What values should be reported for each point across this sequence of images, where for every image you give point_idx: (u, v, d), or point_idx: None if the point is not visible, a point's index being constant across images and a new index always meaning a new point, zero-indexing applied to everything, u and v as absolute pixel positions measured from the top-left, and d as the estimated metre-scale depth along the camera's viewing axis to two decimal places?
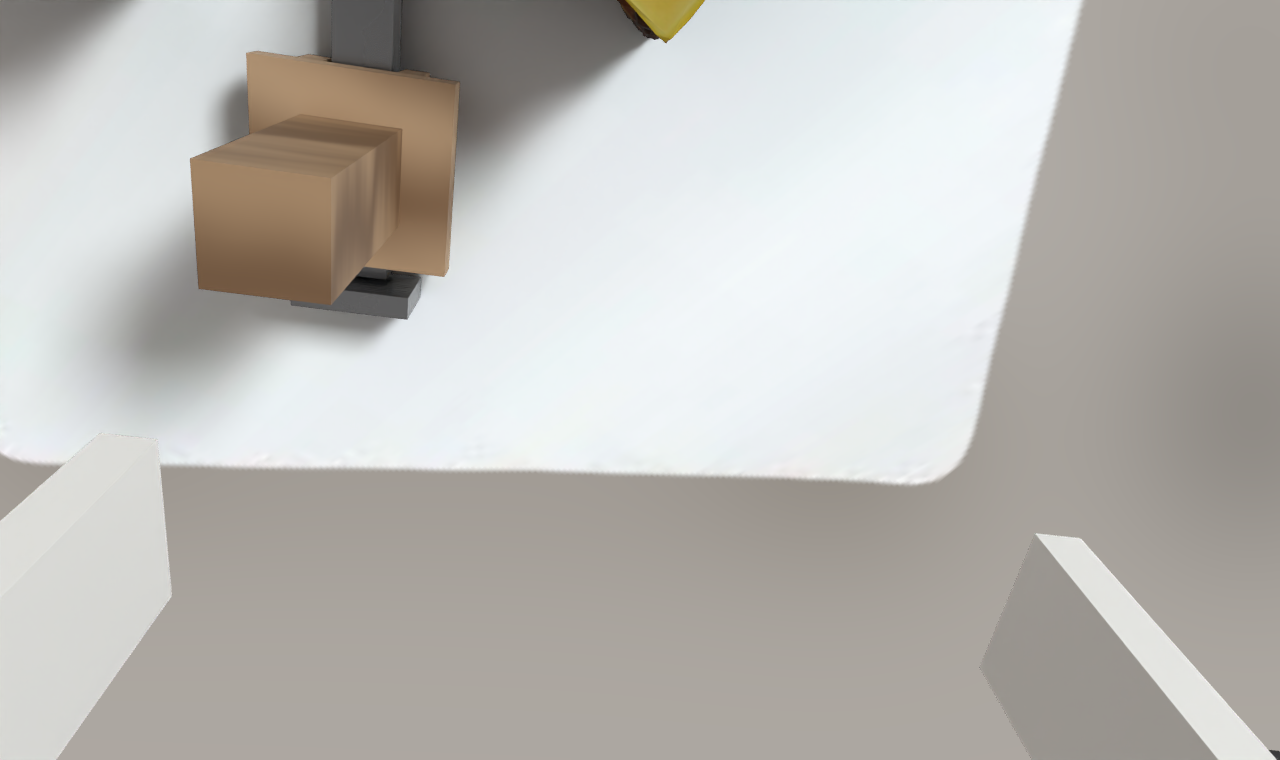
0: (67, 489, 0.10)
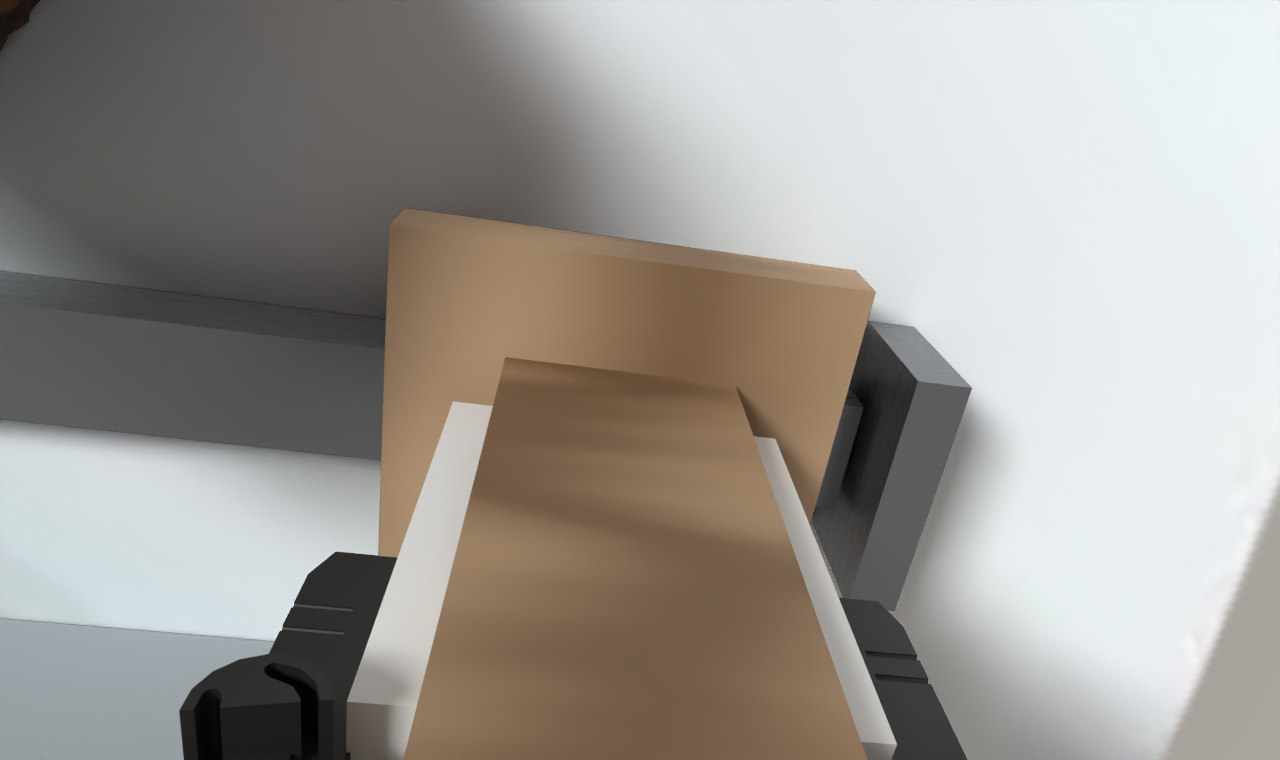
0: (461, 444, 0.13)
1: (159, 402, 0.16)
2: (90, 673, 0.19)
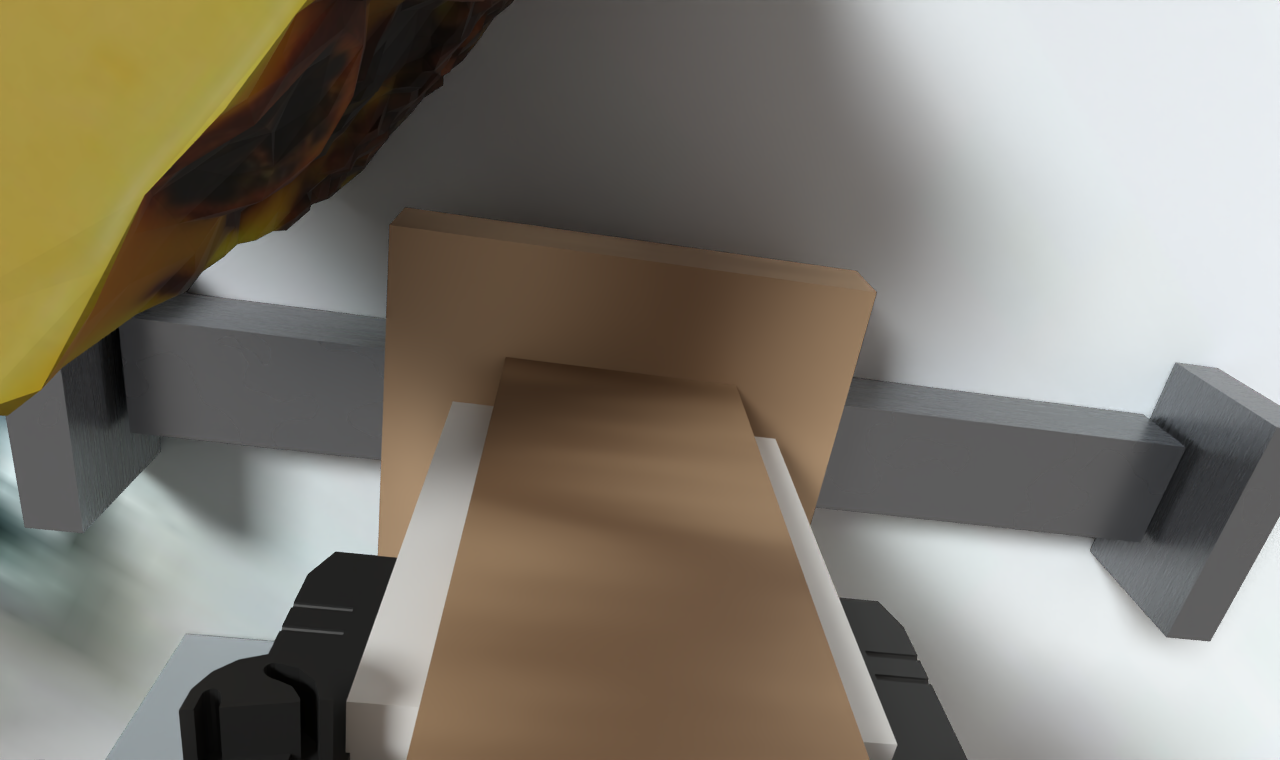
0: (461, 444, 0.13)
1: None
2: None
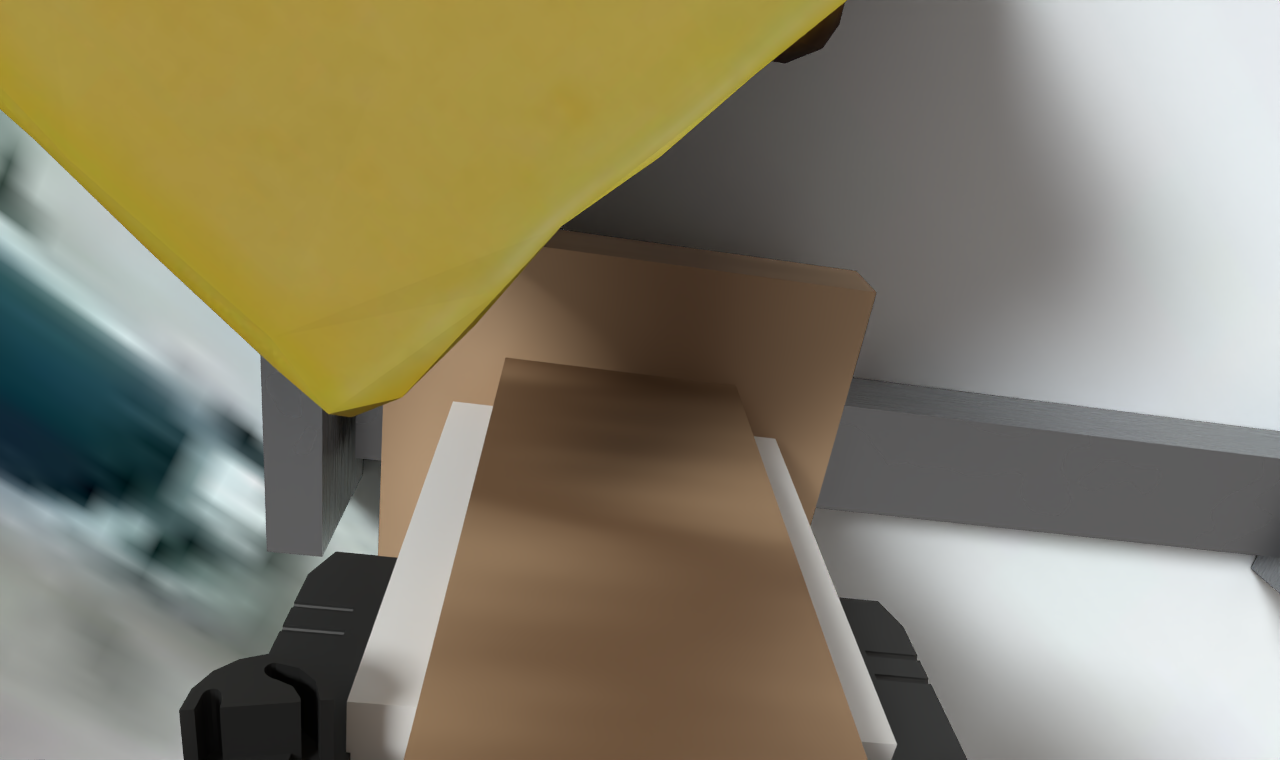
0: (461, 444, 0.13)
1: None
2: None
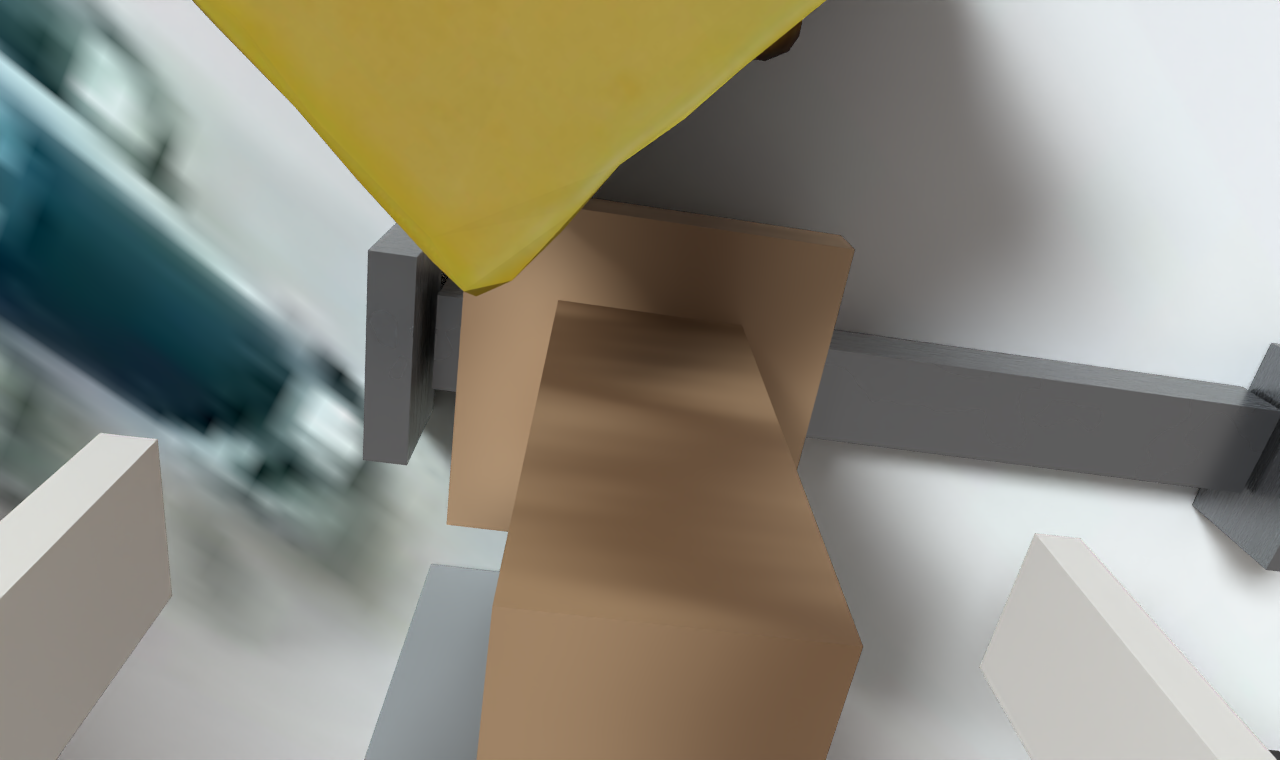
0: (67, 489, 0.10)
1: None
2: None
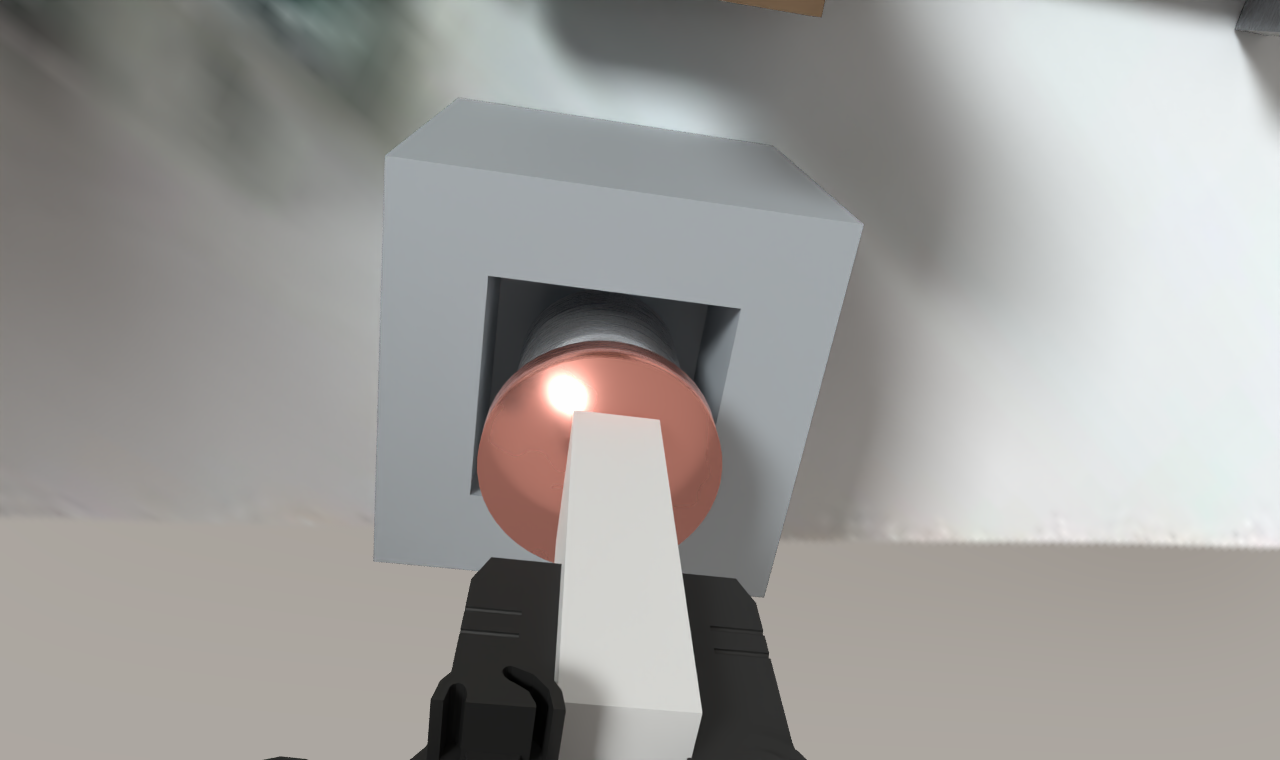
0: (592, 451, 0.13)
1: None
2: (657, 135, 0.23)
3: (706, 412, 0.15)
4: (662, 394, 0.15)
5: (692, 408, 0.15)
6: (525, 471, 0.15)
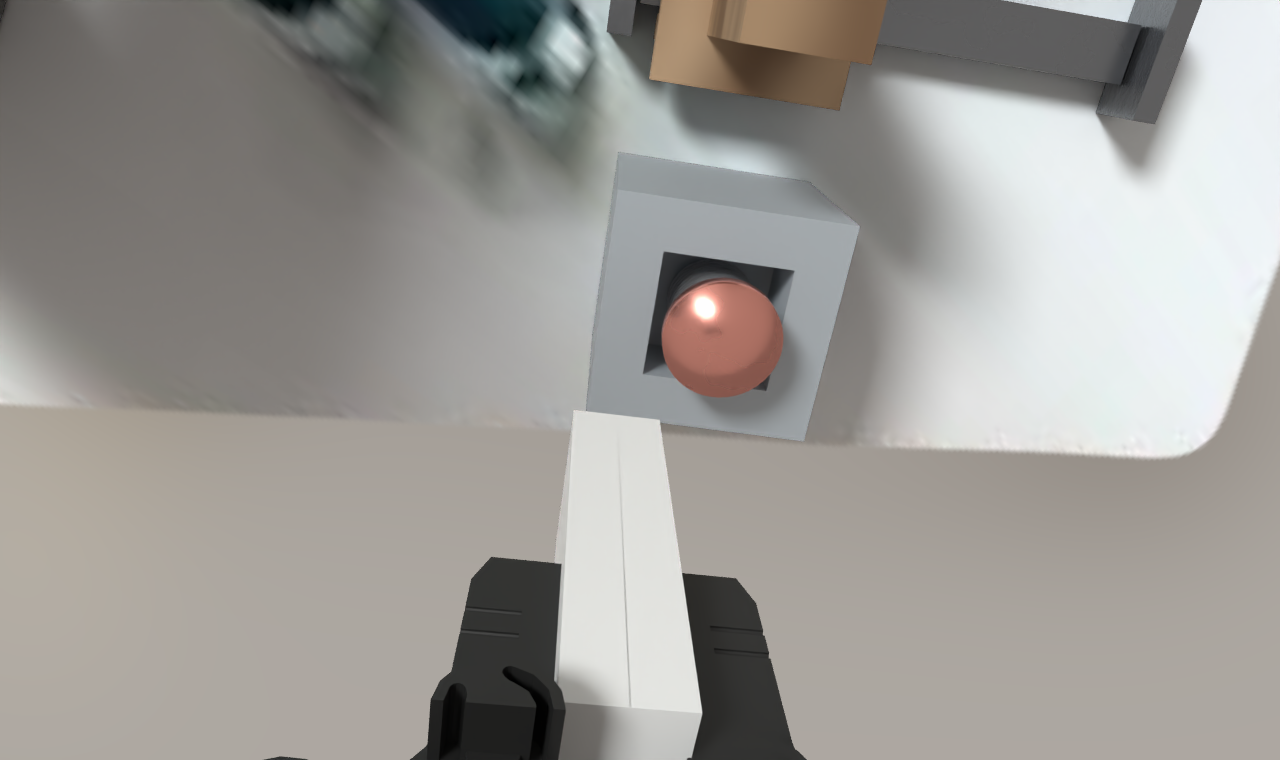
0: (592, 451, 0.13)
1: None
2: (740, 176, 0.38)
3: (776, 312, 0.30)
4: (755, 302, 0.30)
5: (769, 310, 0.30)
6: (686, 341, 0.30)
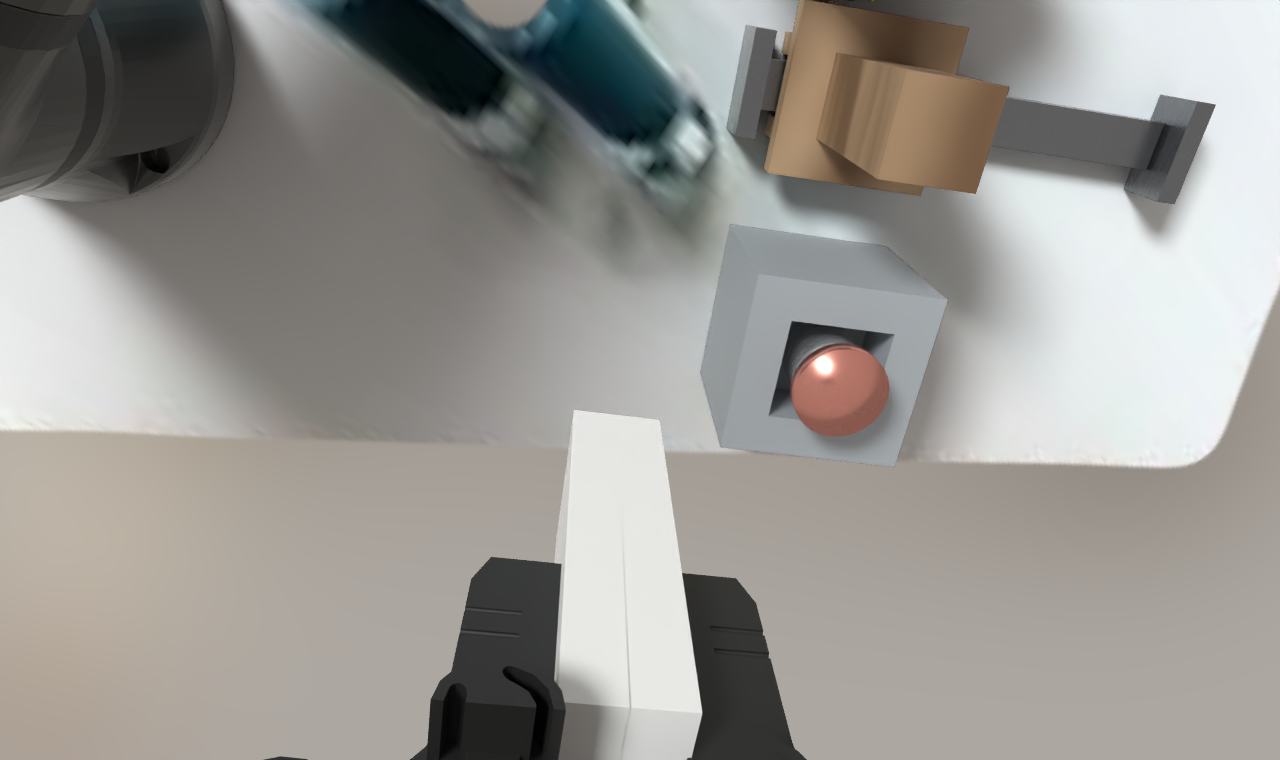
0: (592, 452, 0.13)
1: None
2: (833, 245, 0.45)
3: None
4: (868, 363, 0.38)
5: (879, 369, 0.38)
6: (812, 394, 0.38)
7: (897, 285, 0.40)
